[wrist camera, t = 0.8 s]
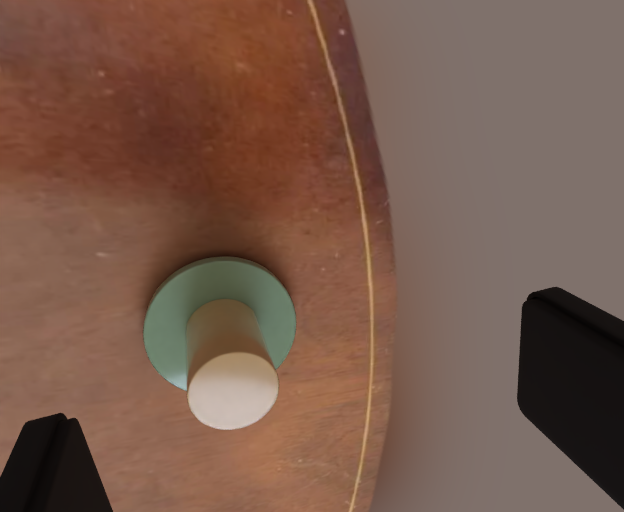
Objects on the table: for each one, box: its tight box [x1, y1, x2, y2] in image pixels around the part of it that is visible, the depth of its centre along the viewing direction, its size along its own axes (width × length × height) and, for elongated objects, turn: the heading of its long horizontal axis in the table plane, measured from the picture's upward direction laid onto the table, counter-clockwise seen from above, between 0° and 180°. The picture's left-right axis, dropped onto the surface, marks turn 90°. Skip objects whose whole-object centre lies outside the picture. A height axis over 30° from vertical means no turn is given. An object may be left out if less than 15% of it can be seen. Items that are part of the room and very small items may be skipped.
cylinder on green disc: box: [143, 256, 296, 430], centre depth 24 cm, size 8×8×7 cm
